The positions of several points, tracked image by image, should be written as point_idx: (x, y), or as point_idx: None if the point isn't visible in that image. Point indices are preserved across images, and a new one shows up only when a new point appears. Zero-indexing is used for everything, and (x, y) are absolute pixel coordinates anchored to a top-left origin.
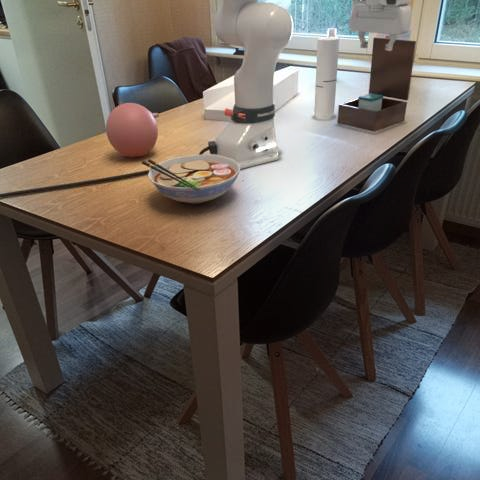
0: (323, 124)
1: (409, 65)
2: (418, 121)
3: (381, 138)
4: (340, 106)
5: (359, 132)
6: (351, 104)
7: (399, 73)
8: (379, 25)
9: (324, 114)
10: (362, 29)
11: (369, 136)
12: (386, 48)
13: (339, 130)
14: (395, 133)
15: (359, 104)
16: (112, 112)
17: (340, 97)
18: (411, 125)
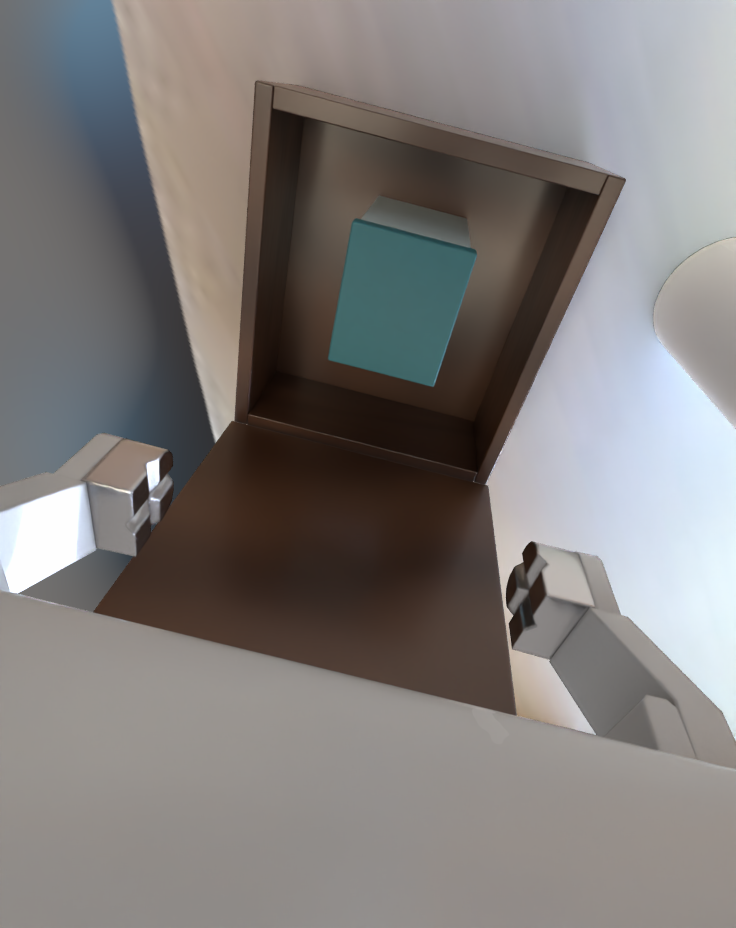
0: (695, 139)
1: (160, 547)
2: (228, 417)
3: (217, 11)
4: (605, 173)
5: (396, 75)
6: (544, 305)
7: (258, 524)
8: (89, 799)
9: (724, 252)
10: (665, 793)
11: (301, 12)
12: (135, 454)
13: (541, 45)
14: (208, 173)
15: (461, 240)
16: None
17: (687, 627)
18: (220, 349)
